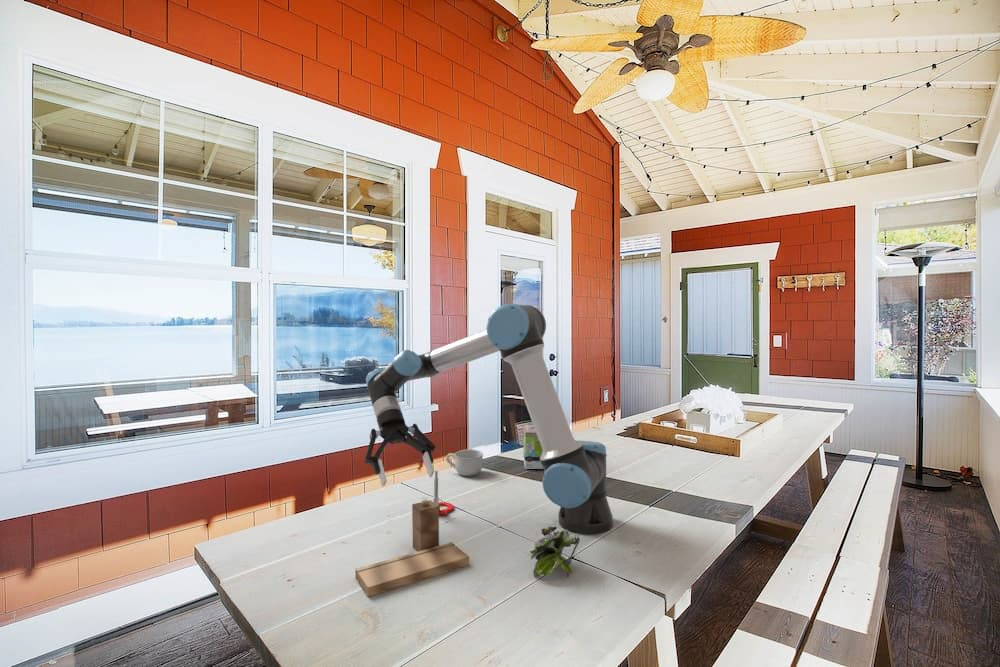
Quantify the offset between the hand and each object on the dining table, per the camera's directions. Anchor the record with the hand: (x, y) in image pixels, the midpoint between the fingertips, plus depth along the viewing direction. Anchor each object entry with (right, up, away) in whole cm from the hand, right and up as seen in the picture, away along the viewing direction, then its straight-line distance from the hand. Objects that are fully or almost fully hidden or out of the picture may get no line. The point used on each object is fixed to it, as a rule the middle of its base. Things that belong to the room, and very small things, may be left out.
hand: (408, 479), depth 131 cm
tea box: (+39, -13, +63) cm, 76 cm away
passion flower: (+38, -15, -20) cm, 45 cm away
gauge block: (+6, -15, -9) cm, 18 cm away
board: (+5, -15, -20) cm, 26 cm away
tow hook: (+6, -15, +17) cm, 23 cm away
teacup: (+11, -14, +52) cm, 55 cm away
